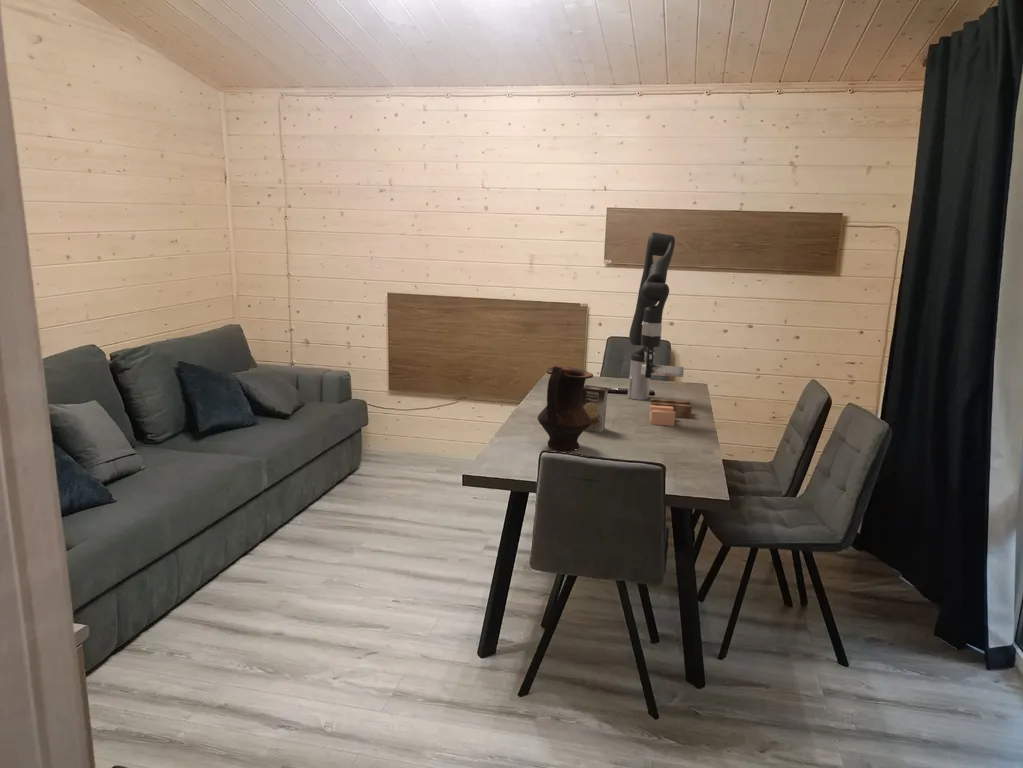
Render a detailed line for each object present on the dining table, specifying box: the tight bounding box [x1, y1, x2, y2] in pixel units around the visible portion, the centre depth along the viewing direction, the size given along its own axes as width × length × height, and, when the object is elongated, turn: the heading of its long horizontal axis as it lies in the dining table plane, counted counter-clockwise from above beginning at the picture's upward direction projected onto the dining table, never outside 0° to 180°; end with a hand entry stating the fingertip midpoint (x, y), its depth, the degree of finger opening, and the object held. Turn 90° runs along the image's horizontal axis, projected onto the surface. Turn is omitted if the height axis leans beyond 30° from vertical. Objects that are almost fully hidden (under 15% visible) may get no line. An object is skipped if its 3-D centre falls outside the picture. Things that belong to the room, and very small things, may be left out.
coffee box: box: [581, 384, 609, 433], centre depth 274 cm, size 9×6×16 cm
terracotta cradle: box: [648, 404, 676, 427], centre depth 290 cm, size 9×11×5 cm
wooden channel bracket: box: [649, 398, 693, 419], centre depth 302 cm, size 16×9×5 cm, turn 83°
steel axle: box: [641, 364, 685, 378], centre depth 287 cm, size 16×4×4 cm, turn 83°
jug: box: [537, 364, 594, 452], centre depth 247 cm, size 21×18×30 cm
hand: (647, 376), depth 288 cm, fingers closed on steel axle, 4 cm apart
